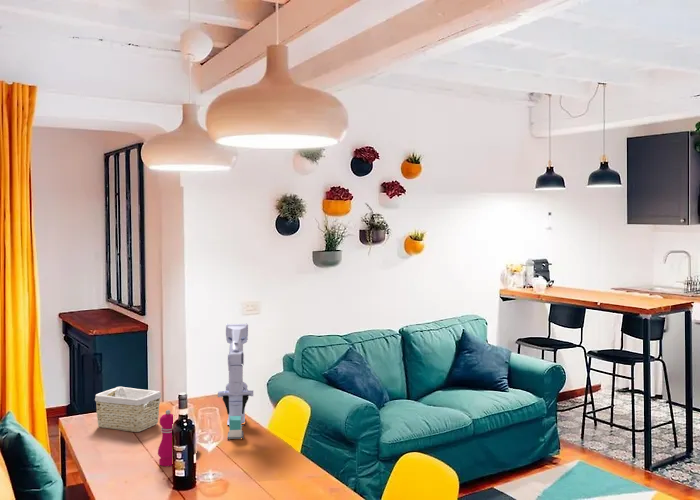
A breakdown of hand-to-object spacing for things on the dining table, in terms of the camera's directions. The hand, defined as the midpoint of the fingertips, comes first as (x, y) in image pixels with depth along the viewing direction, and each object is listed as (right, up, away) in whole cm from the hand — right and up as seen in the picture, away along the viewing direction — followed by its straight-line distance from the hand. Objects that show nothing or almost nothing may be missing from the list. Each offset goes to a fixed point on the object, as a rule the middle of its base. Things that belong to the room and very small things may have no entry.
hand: (235, 413), depth 273 cm
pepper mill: (-20, -11, -30) cm, 38 cm away
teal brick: (0, -6, 0) cm, 6 cm away
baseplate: (0, -10, 0) cm, 10 cm away
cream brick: (0, -10, 0) cm, 10 cm away
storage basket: (-49, -9, +14) cm, 52 cm away
